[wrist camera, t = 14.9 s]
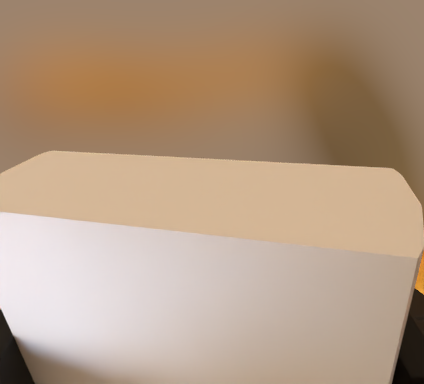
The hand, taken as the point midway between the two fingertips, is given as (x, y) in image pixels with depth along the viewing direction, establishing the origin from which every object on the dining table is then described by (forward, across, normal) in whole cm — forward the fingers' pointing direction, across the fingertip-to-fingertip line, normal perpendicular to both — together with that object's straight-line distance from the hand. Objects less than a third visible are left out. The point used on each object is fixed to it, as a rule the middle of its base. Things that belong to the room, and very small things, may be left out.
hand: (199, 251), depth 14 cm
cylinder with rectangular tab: (-5, 0, -7) cm, 9 cm away
